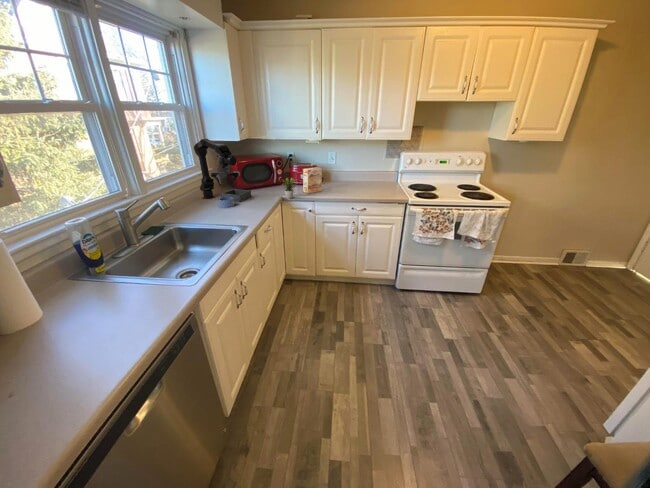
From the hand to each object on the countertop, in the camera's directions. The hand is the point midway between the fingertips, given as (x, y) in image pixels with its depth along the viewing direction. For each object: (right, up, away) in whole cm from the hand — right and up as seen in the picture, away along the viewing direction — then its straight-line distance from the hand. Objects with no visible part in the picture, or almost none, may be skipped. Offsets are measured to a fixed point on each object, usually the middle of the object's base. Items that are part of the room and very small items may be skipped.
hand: (227, 186), depth 200 cm
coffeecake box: (+60, +3, +39) cm, 71 cm away
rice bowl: (0, -14, 0) cm, 14 cm away
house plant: (+42, -6, +19) cm, 47 cm away
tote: (+2, -6, +17) cm, 18 cm away
